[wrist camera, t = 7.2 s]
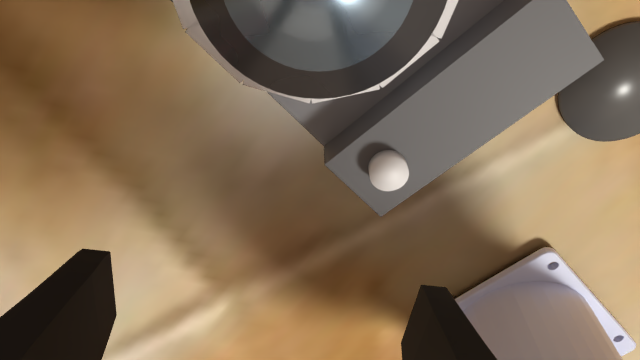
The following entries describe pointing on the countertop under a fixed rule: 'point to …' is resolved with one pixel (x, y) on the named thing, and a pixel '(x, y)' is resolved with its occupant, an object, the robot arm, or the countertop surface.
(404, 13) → the lens
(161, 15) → the countertop surface
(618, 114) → the lens cap
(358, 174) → the camera body
